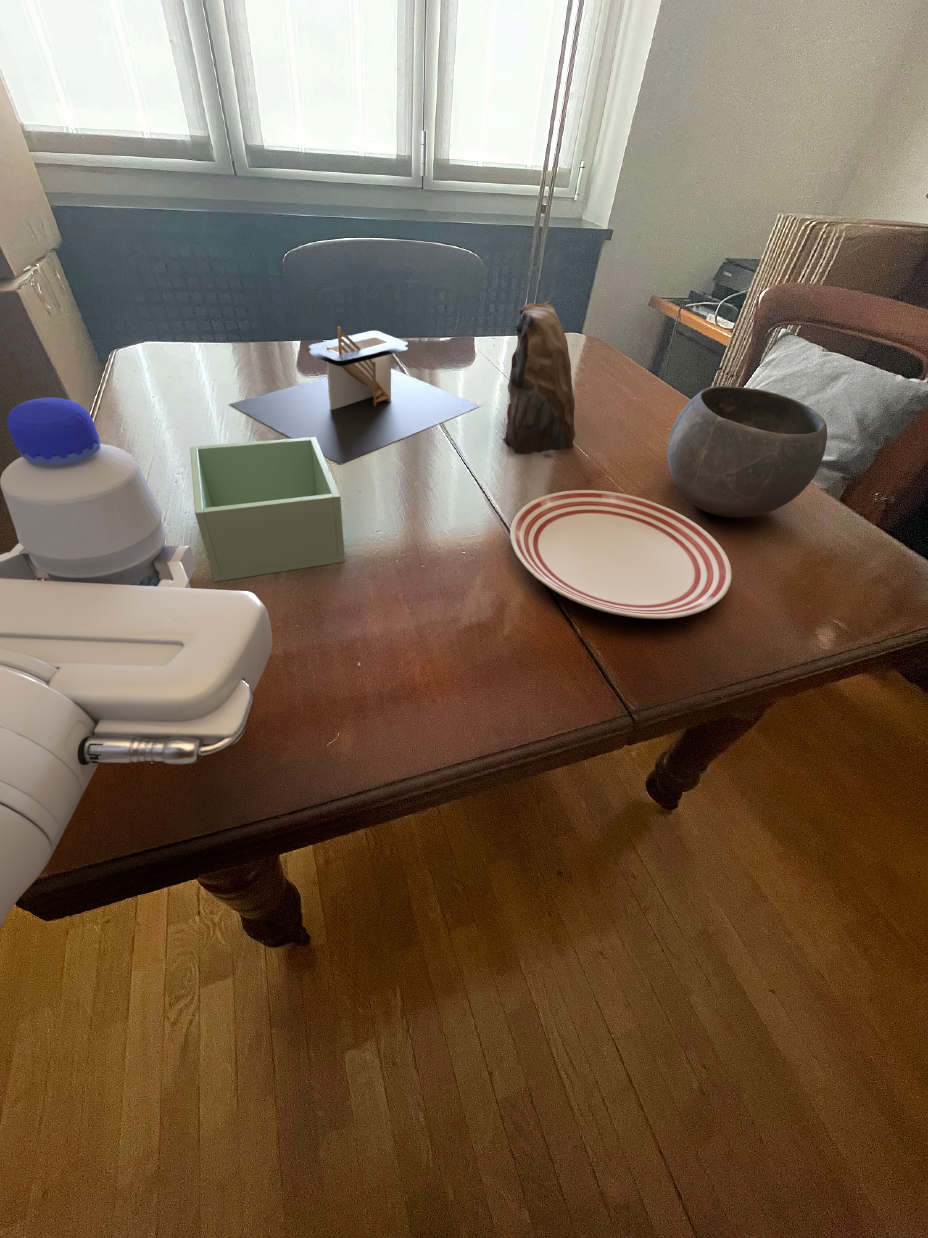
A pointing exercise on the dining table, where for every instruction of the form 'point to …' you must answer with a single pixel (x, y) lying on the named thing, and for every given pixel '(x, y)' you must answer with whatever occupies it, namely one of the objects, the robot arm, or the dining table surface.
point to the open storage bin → (266, 507)
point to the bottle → (79, 499)
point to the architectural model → (356, 399)
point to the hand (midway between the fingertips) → (114, 550)
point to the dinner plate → (620, 554)
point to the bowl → (744, 450)
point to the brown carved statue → (540, 384)
